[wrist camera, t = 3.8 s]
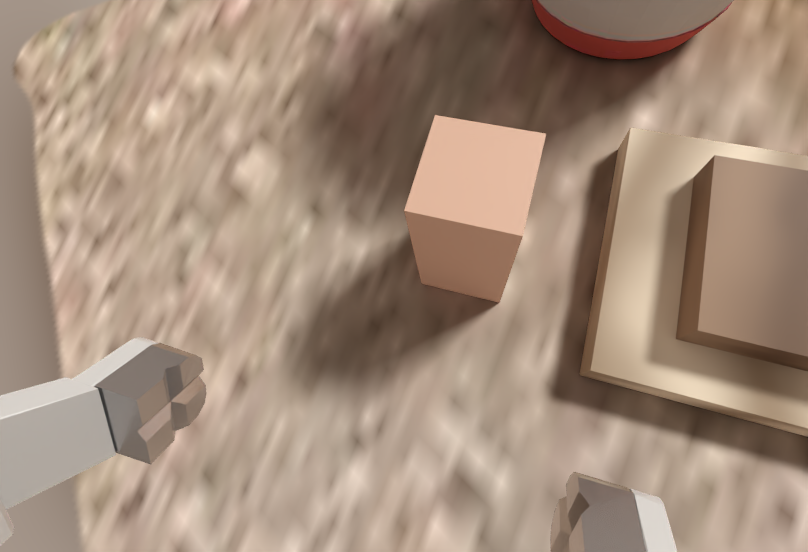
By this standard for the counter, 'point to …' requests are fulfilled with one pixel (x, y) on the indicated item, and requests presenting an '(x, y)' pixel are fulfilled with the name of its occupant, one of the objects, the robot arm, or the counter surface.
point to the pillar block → (471, 204)
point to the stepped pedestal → (705, 278)
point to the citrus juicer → (626, 24)
